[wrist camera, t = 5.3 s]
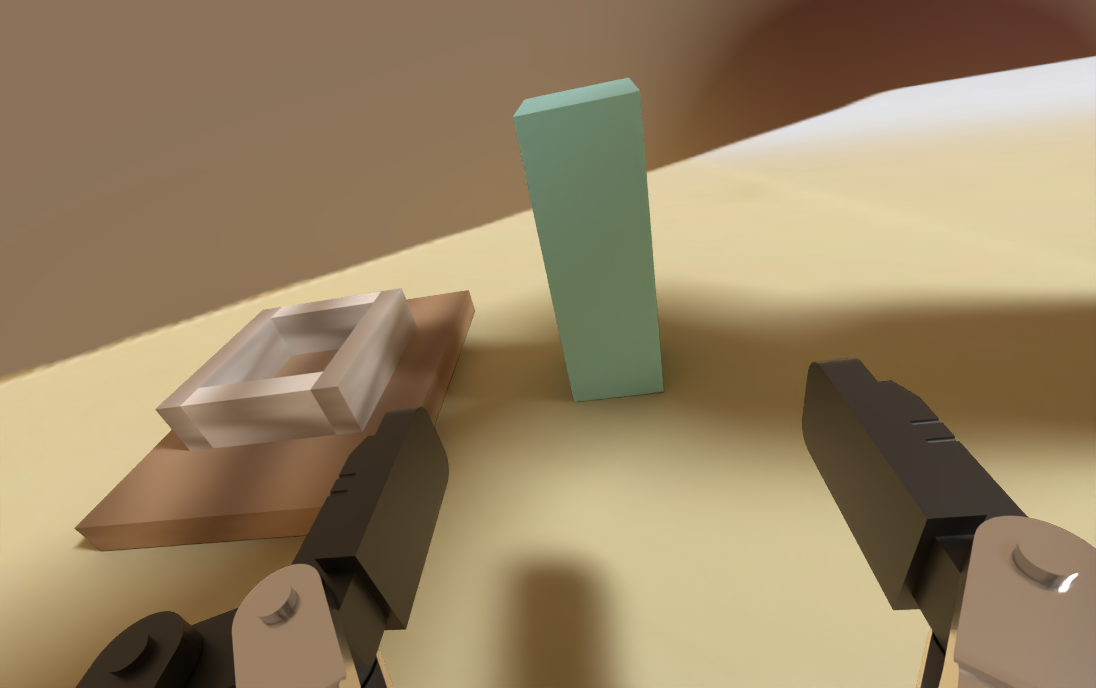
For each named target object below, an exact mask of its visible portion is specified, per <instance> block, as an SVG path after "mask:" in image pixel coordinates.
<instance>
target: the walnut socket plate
mask: <svg viewBox="0 0 1096 688" xmlns="http://www.w3.org/2000/svg"><path fill="white" fill-rule="evenodd" d="M474 312H475V309H474V306H473V303H472V300H471V296H470V293H469V290H467V291H460V292H454V293H447V294H441V295H434V296H427V297H421V298H414V299H408V300H406V298H405V295H404V293H403V290H402V288H401V289H395V290H388V291H382V292H376V293H369V294H363V295H356V296H350V297H343V298H337V299H331V300H324V301H318V302H311V303H305V304H299V305H292V306H286V307H279V308H273V309H266V310H262V311H261V312H260V313H259V314H258V315H257V316H256V317H255V318H254V319H253V320H252V321H250V322H249V323H248V324H247V325H246V326H245V327H244V328H243V329H242V330H241V331H240V332H239V333H237V334H236V335H235V336H234V337H233V338H232V339H231V340H230V341H229V342H228V343H227V344H226V345H224V346H223V347H222V348H221V349H220V350H219V351H218V352H217V353H216V354H215V355H214V356H213V357H211V358H210V359H209V360H208V361H207V362H206V363H205V364H204V365H203V366H202V367H201V368H200V369H198V370H197V371H196V372H195V373H194V374H193V375H192V376H191V377H190V378H189V379H188V380H187V381H185V382H184V383H183V384H182V385H181V386H180V387H179V388H178V389H177V390H176V391H175V392H174V393H172V394H171V395H170V396H169V397H168V398H167V399H166V400H165V401H164V402H163V403H162V404H161V405H159V406H158V407H157V408H156V409H155V410H156V411H157V412H158V413H159V414H160V416H161V417H162V418H163V419H164V420H165V422H166V423H167V424H168V425H169V426H170V428H171V429H172V430H171V431H170V432H169V433H168V434H167V435H166V436H165V437H164V438H163V439H162V440H161V441H160V442H159V443H158V444H157V445H156V446H155V447H154V448H153V449H152V450H151V451H150V453H149V454H148V455H147V456H146V457H145V458H144V459H143V460H142V461H141V462H140V463H139V464H138V465H137V466H136V467H135V468H134V469H133V470H132V471H131V472H130V473H129V474H128V475H127V476H126V477H125V478H124V479H123V480H122V481H121V482H120V483H119V484H118V485H117V486H116V487H115V488H114V489H113V490H112V491H111V492H110V493H109V494H108V495H107V496H106V497H105V498H104V499H103V500H102V501H101V502H100V503H99V504H98V505H97V506H96V507H95V508H94V509H93V510H92V511H91V512H90V513H89V514H88V515H87V516H86V517H85V518H84V519H83V520H82V521H81V522H80V523H79V524H78V525H77V526H76V527H75V529H76V530H77V531H78V532H79V533H81V534H82V535H83V536H84V537H85V538H86V539H88V540H89V541H90V542H91V543H92V544H93V545H95V546H96V547H97V548H98V549H99V550H100V551H106V550H119V549H132V548H145V547H158V546H171V545H184V544H196V543H209V542H222V541H235V540H248V539H261V538H274V537H287V536H300V535H307V534H308V533H309V531H310V529H311V527H312V525H313V523H314V521H315V519H316V517H317V515H318V514H319V512H320V510H321V508H322V506H323V504H324V502H325V500H326V498H327V496H330V491H331V489H332V487H333V485H334V483H335V481H336V479H339V474H340V472H341V470H342V468H343V466H344V464H345V462H346V460H347V458H348V456H349V455H350V454H351V453H352V451H353V450H354V449H355V448H356V447H357V446H358V445H359V444H360V443H361V442H362V441H363V440H364V439H365V438H366V437H367V436H372V435H375V434H376V432H377V430H378V428H379V425H380V423H381V421H382V419H383V417H384V415H385V414H386V413H387V412H388V411H390V410H397V409H406V408H414V407H424V408H425V409H426V410H427V412H428V414H429V416H430V418H431V421H432V423H433V425H435V422H436V420H437V417H438V414H439V411H440V408H441V406H442V403H443V400H444V397H445V394H446V391H447V389H448V386H449V383H450V380H451V377H452V374H453V372H454V369H455V366H456V363H457V360H458V358H459V355H460V352H461V349H462V346H463V343H464V341H465V338H466V335H467V332H468V329H469V327H470V324H471V321H472V318H473V315H474Z"/></svg>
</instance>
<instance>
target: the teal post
mask: <svg viewBox="0 0 1096 688" xmlns="http://www.w3.org/2000/svg"><path fill="white" fill-rule="evenodd" d="M513 119H514V124H515V128H516V133H517V138H518V143H519V147H520V152H521V157H522V161H523V166H524V171H525V175H526V180H527V185H528V190H529V194H530V199H531V203H532V208H533V213H534V218H535V222H536V227H537V232H538V236H539V241H540V246H541V250H542V255H543V260H544V265H545V269H546V274H547V279H548V283H549V288H550V293H551V297H552V302H553V307H554V311H555V316H556V321H557V325H558V330H559V335H560V340H561V344H562V349H563V354H564V358H565V363H566V368H567V372H568V377H569V382H570V386H571V391H572V396H573V400H574V402H579V401H588V400H596V399H605V398H614V397H623V396H632V395H641V394H650V393H659V392H664V388H663V376H662V363H661V350H660V338H659V325H658V313H657V300H656V288H655V275H654V263H653V250H652V237H651V225H650V212H649V200H648V187H647V175H646V162H645V151H644V150H645V149H644V137H643V125H642V113H641V100H640V91H639V89H638V88H637V87H636V86H635V85H634V83H633V82H632V81H631V80H630V79H629V78H625V79H620V80H615V81H611V82H606V83H601V84H597V85H591V86H587V87H582V88H577V89H573V90H568V91H563V92H558V93H554V94H549V95H544V96H539V97H534V98H530V99H525V100H524V101H523V103H522V104H521V106H520V107H519V109H518V110H517V112H516V113H515V115H514V116H513Z"/></svg>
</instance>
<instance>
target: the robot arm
mask: <svg viewBox="0 0 1096 688" xmlns="http://www.w3.org/2000/svg"><path fill="white" fill-rule="evenodd" d="M802 430H803V436H804V440H805V443H806V446H807V449H808V451H809V453H810V455H811V457H812V459H813V460H814V462H815V464H816V466H817V468H818V470H819V472H820V474H821V475H822V477H823V479H824V481H825V483H826V485H827V487H828V489H829V490H830V492H831V494H832V496H833V498H834V500H835V502H836V504H837V505H838V507H839V509H840V511H841V513H842V515H843V517H844V519H845V520H846V522H847V524H848V526H849V528H850V530H851V532H852V534H853V536H854V537H855V539H856V541H857V543H858V545H859V547H860V549H861V551H862V552H863V554H864V556H865V558H866V560H867V562H868V564H869V566H870V567H871V569H872V571H873V573H874V575H875V577H876V579H877V581H878V582H879V584H880V586H881V588H882V590H883V592H884V594H885V596H886V597H887V599H888V601H889V603H890V605H891V607H892V609H893V610H909V609H920V610H921V611H922V613H923V615H924V617H925V618H926V620H927V622H928V624H929V625H930V627H931V628H930V630H929V632H928V635H927V639H926V644H925V648H924V653H923V657H922V662H921V667H920V671H919V676H918V680H917V685H916V688H1096V548H1094V547H1093V546H1092V545H1090V544H1089V543H1087V542H1086V541H1085V540H1083V539H1081V538H1080V537H1078V536H1076V535H1074V534H1073V533H1071V532H1069V531H1067V530H1065V529H1062V528H1060V527H1058V526H1055V525H1053V524H1050V523H1048V522H1044V521H1041V520H1037V519H1033V518H1029V517H1028V516H1027V515H1026V514H1025V513H1024V512H1023V511H1022V510H1021V509H1020V508H1019V507H1018V506H1017V505H1016V504H1015V503H1014V501H1013V500H1012V499H1011V498H1010V497H1009V496H1008V495H1007V494H1006V493H1005V491H1004V490H1003V489H1002V488H1001V487H1000V486H999V485H998V484H997V483H996V481H995V480H994V479H993V478H992V477H991V476H990V475H989V474H988V473H987V472H986V470H985V469H984V468H983V467H982V466H981V465H980V464H979V463H978V462H977V460H976V459H975V458H974V457H973V456H972V455H971V454H970V453H969V452H968V450H967V449H966V448H965V447H964V446H963V445H962V444H961V443H960V442H959V441H956V440H955V436H954V435H953V434H952V433H951V432H950V430H949V429H948V428H947V427H946V426H945V425H944V424H943V423H940V422H939V418H938V417H937V416H936V415H935V414H934V413H933V412H932V411H931V409H930V408H929V407H928V406H927V405H926V404H925V403H924V402H923V401H922V399H921V398H920V397H918V396H917V395H915V394H913V393H911V392H910V391H908V390H906V389H905V388H903V387H901V386H900V385H898V384H896V383H895V382H893V381H882V382H877V380H876V379H875V378H874V377H873V375H872V374H871V373H870V372H869V371H868V369H867V368H866V367H865V366H864V365H863V363H862V362H861V361H860V360H858V359H857V358H846V359H838V360H829V361H820V362H813V363H812V364H811V365H810V367H809V370H808V377H807V385H806V393H805V401H804V408H803V416H802ZM448 474H449V468H448V460H447V456H446V453H445V451H444V448H443V446H442V444H441V441H440V439H439V437H438V435H437V432H436V430H435V428H434V425H433V423H432V421H431V418H430V416H429V414H428V412H427V410H426V409H425V408H424V407H414V408H406V409H397V410H390V411H388V412H387V413H386V414H385V415H384V417H383V419H382V421H381V423H380V425H379V428H378V430H377V432H376V434H375V435H372V436H367V437H366V438H365V439H364V440H363V441H362V442H361V443H360V444H359V445H358V446H357V447H356V448H355V449H354V450H353V451H352V453H351V454H350V455H349V456H348V458H347V460H346V462H345V464H344V466H343V468H342V470H341V472H340V474H339V479H336V481H335V483H334V485H333V487H332V489H331V491H330V496H327V498H326V500H325V502H324V504H323V506H322V508H321V510H320V512H319V514H318V515H317V517H316V519H315V521H314V523H313V525H312V527H311V529H310V531H309V533H308V534H307V536H306V538H305V540H304V542H303V544H302V546H301V548H300V550H299V552H298V554H297V555H296V557H295V559H294V561H293V563H292V564H291V565H290V566H286V567H284V568H281V569H279V570H277V571H275V572H273V573H272V574H270V575H269V576H267V577H266V578H264V579H263V580H262V581H261V582H259V583H258V584H257V585H256V586H255V587H254V588H253V589H252V590H251V591H250V592H249V594H248V595H247V596H246V597H245V599H244V600H243V601H242V603H241V604H240V606H239V608H237V609H234V610H231V611H229V612H226V613H223V614H221V615H218V616H215V617H213V618H210V619H207V620H205V621H202V622H199V623H197V624H194V625H192V626H191V625H190V624H189V623H188V622H186V621H185V620H184V619H183V618H182V617H181V616H180V615H178V614H176V613H175V612H170V611H165V612H159V613H155V614H152V615H149V616H147V617H145V618H143V619H141V620H139V621H138V622H136V623H134V624H133V625H131V626H130V627H128V628H127V629H125V630H124V631H123V632H122V633H120V634H119V635H118V636H117V637H116V638H115V639H114V640H113V641H111V642H110V643H109V644H108V645H107V647H106V648H105V649H104V650H103V651H102V652H101V653H100V655H99V656H98V657H97V658H96V660H95V661H94V662H93V664H92V665H91V667H90V668H89V669H88V671H87V672H86V674H85V675H84V677H83V678H82V679H81V681H80V682H79V684H78V685H77V686H76V688H393V685H392V682H391V679H390V677H389V674H388V671H387V668H386V665H385V662H384V659H383V656H382V654H381V652H380V650H379V649H378V648H379V645H380V641H381V638H382V635H383V632H384V630H402V629H406V627H407V624H408V620H409V617H410V613H411V610H412V606H413V602H414V599H415V595H416V592H417V588H418V585H419V581H420V578H421V574H422V571H423V567H424V564H425V560H426V556H427V553H428V549H429V546H430V542H431V539H432V535H433V532H434V528H435V525H436V521H437V518H438V514H439V510H440V507H441V503H442V500H443V496H444V493H445V489H446V486H447V482H448Z"/></svg>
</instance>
